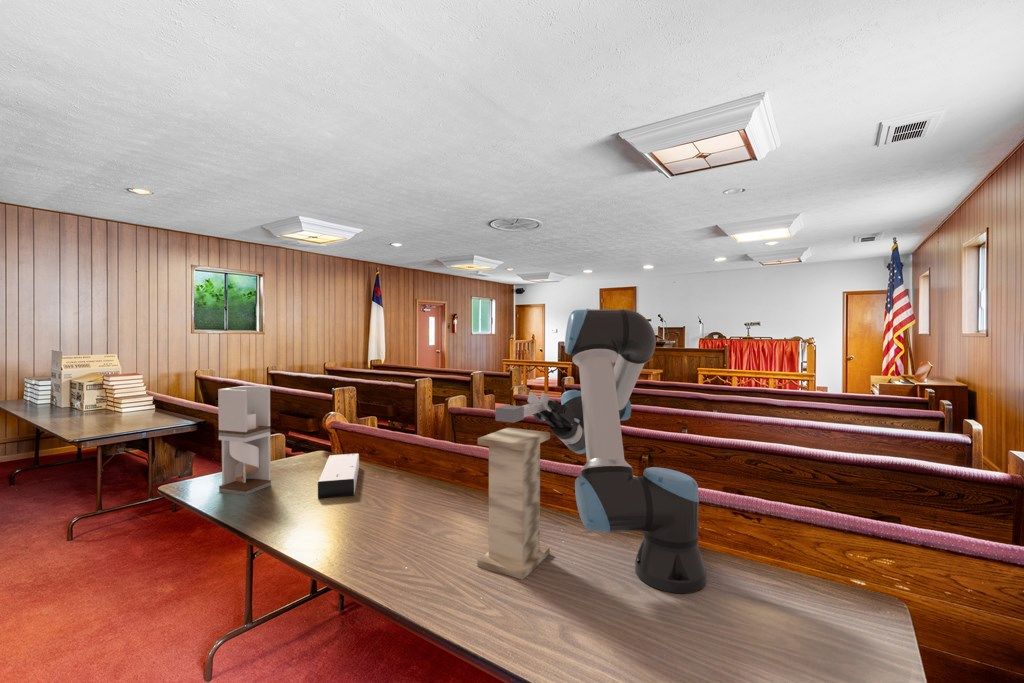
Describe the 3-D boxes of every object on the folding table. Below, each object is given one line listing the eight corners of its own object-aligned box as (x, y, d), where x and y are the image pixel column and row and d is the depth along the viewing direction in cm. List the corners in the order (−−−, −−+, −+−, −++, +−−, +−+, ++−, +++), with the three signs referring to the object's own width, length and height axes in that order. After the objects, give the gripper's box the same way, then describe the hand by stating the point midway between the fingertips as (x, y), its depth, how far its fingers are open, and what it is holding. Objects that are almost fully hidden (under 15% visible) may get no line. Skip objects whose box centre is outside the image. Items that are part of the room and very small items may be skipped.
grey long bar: (540, 406, 129) (540, 395, 129) (556, 407, 127) (556, 396, 127) (495, 420, 108) (495, 407, 108) (513, 422, 106) (513, 409, 106)
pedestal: (507, 542, 121) (507, 427, 120) (549, 553, 115) (550, 432, 114) (477, 566, 109) (477, 438, 108) (522, 579, 103) (523, 444, 102)
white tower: (219, 491, 159) (218, 389, 158) (245, 482, 169) (244, 385, 168) (245, 495, 155) (244, 390, 155) (270, 485, 166) (270, 387, 165)
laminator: (354, 497, 155) (353, 478, 155) (314, 500, 151) (314, 482, 151) (359, 468, 187) (358, 453, 187) (326, 471, 184) (326, 455, 184)
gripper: (589, 443, 133) (561, 413, 115) (539, 436, 141) (505, 407, 123) (593, 418, 137) (567, 385, 119) (544, 413, 144) (512, 382, 126)
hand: (535, 396), depth 121 cm, fingers closed on grey long bar, 3 cm apart
